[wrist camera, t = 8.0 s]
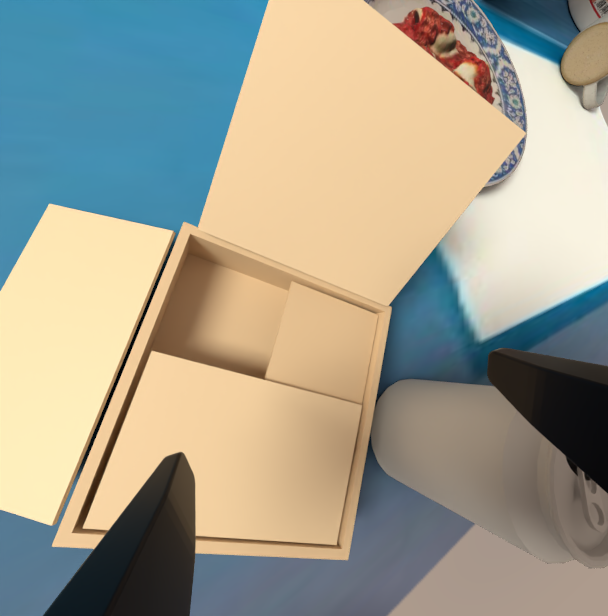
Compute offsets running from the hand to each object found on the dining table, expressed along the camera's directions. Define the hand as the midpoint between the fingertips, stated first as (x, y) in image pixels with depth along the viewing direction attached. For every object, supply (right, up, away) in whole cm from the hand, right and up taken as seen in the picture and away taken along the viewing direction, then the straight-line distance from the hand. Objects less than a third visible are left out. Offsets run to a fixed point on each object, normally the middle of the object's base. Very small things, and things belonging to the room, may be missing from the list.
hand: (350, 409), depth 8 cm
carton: (-8, -1, +10) cm, 13 cm away
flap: (-1, +5, +9) cm, 11 cm away
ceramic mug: (+41, +38, +38) cm, 68 cm away
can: (+6, -7, +15) cm, 18 cm away
